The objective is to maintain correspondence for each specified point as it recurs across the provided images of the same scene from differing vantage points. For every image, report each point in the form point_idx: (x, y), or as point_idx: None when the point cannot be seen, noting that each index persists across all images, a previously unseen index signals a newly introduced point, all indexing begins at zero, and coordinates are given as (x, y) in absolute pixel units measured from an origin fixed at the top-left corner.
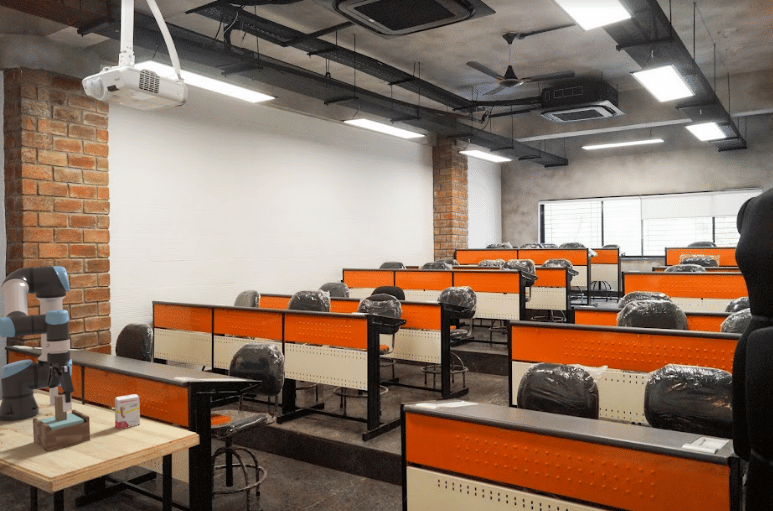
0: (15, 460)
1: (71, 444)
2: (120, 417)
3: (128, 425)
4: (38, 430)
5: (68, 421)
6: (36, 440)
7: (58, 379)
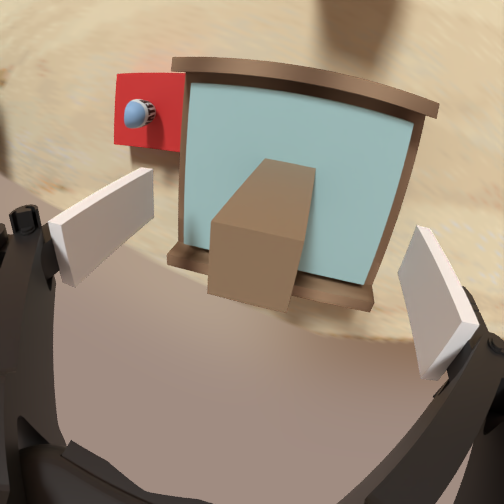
0: (335, 325)
1: None
2: None
3: None
4: None
5: (365, 190)
6: None
7: (25, 305)
